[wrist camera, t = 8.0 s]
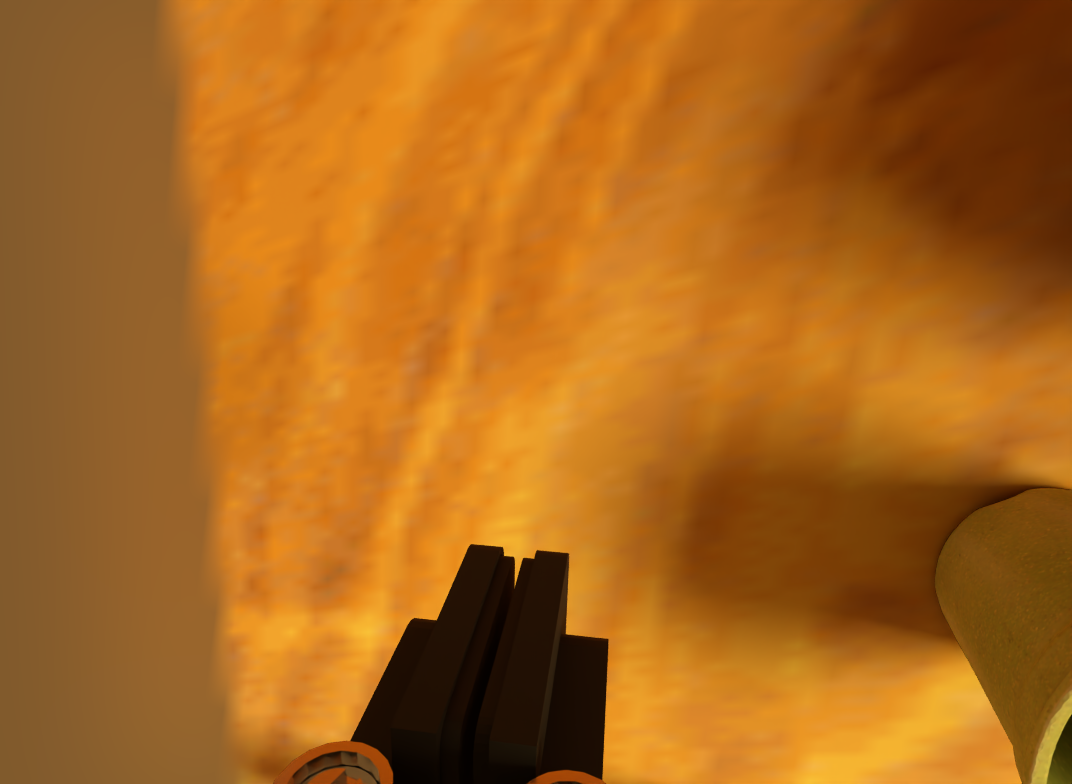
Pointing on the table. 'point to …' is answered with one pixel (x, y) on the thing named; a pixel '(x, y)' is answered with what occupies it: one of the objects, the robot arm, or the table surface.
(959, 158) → the table surface
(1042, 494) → the plant pot
